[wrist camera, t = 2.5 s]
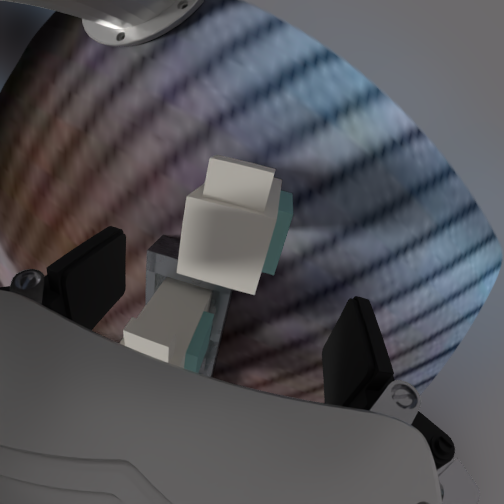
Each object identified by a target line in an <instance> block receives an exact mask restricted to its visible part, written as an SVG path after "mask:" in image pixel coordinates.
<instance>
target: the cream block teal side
mask: <svg viewBox="0 0 504 504" xmlns="http://www.w3.org/2000/svg"><path fill="white" fill-rule="evenodd" d="M212 291H213V290H210V289H207V288H203V287H200V286H197V285H193V284H190V283H187V282H183V281H180V280H177V279H173V278H170V277H166V278H165V280H164V281H163V282H162V284H161V285H160V286H159V288H158V289H157V291H156V292H155V293H154V295H153V296H152V297H151V299H150V300H149V302H148V303H147V304H146V306H145V307H144V309H143V310H142V311H141V313H140V314H139V316H138V317H137V319H136V318H133V317H132V318H131V320H130V321H129V323H128V324H127V325H126V327H125V328H124V330H123V333H124V337H123V339H122V340H121V342H120V344H122V345H124V346H127V347H129V348H131V349H134V350H136V351H139V352H141V353H144V354H146V355H149V356H151V357H154V358H157V359H159V360H162V361H165V362H167V363H170V364H173V365H176V366H179V367H181V368H184V369H187V370H190V371H193V372H196V373H198V372H199V370H200V367H201V364H202V361H203V358H204V356H205V353H206V350H207V347H208V343H209V338H210V333H211V328H212V323H213V318H214V314H212V313H209V307H210V302H211V297H212Z"/></svg>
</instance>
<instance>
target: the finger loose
mask: <svg viewBox="0 0 504 504" xmlns="http://www.w3.org/2000/svg"><path fill="white" fill-rule="evenodd" d="M275 170H276V169H273V168H269V167H266V166H262V165H258V164H254V163H250V162H246V161H242V160H237V159H233V158H229V157H224V156H220V155H215V156H213V157H211V158H210V160H209V165H208V170H207V175H206V180H205V183H204V184H203V185H202V186H200V187H199V188H197V189H196V190H195V191H193V192H192V193H191V194H189V195H188V196H187V198H186V205H185V211H184V218H183V225H182V232H181V240H180V248H179V256H178V265H177V273H178V274H182V275H185V276H188V277H192V278H195V279H199V280H202V281H205V282H209V283H212V284H216V285H219V286H223V287H226V288H230V289H234V290H237V291H241V292H245V293H248V294H252V295H255V292H256V289H257V285H258V282H259V279H260V275H261V272H264V273H267V274H271V275H274V274H275V271H276V267H277V264H278V261H279V258H280V255H281V252H282V249H283V246H284V242H285V239H286V236H287V233H288V230H289V227H290V223H291V220H292V217H293V197H292V193H289V192H285V191H282V190H281V184H282V180H281V179H278V178H274V174H275Z"/></svg>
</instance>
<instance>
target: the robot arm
mask: <svg viewBox="0 0 504 504" xmlns="http://www.w3.org/2000/svg"><path fill="white" fill-rule="evenodd" d="M2 1H10V2H17V3H23V4H28V5H33V6H38V7H43V8H47V9H51V10H55V11H59V12H63V13H66V14H70V15H73V16H76V17H80V18H82V22H83V26H84V29H85V31H86V32H87V34H88V35H89V36H90V37H91V38H92V39H93V40H95V41H96V42H99V43H102V44H105V45H108V46H113V47H128V46H133V45H139V44H142V43H144V42H147V41H150V40H153V39H155V38H157V37H159V36H161V35H163V34H165V33H167V32H168V31H170V30H171V29H173V28H175V27H176V26H178V25H179V24H181V23H182V22H183V21H184V20H185V19H187V18H188V17H189V16H191V15H192V14H193V13H194V11H195V10H196V9H197V8H198V7H199V6H200V5H201V4H202V3H203V2H204V0H2ZM185 7H186V8H185ZM125 256H126V235H125V234H123V230H122V229H118V228H115V227H112V226H109V227H107V228H106V229H104V230H102V231H101V232H99V233H98V234H96V235H94V236H93V237H91V238H90V239H88V240H87V241H85V242H84V243H82V244H81V245H79V246H77V247H76V248H74V249H73V250H71V251H70V252H69V253H67V254H66V255H64V256H63V257H61V258H60V259H58V260H57V261H56V262H54V263H53V264H51V265H50V266H48V267H47V275H46V276H45V277H44V275H43V273H42V272H41V271H39V270H35V269H28V270H24V271H21V272H19V273H18V274H16V275H15V276H14V277H13V279H12V281H11V285H10V286H8V287H0V504H477V503H478V502H479V498H480V492H479V488H478V486H477V485H476V483H475V482H474V480H473V479H472V478H471V476H470V475H469V473H468V472H467V470H466V469H465V467H464V466H463V465H462V463H461V462H460V461H459V459H458V458H457V459H455V460H454V459H453V457H454V453H455V448H454V444H453V442H452V440H451V438H450V437H449V436H448V435H447V434H446V433H444V432H443V431H442V430H441V429H439V428H438V427H437V426H436V425H434V423H432V422H431V421H430V420H429V419H428V418H426V417H425V416H424V415H423V414H421V413H420V412H419V411H418V410H419V408H420V405H421V398H420V395H419V393H418V392H417V390H416V389H415V388H414V387H413V386H412V385H411V384H409V383H407V382H404V381H401V380H396V381H394V377H393V374H394V372H393V369H392V365H391V362H390V359H389V356H388V353H387V349H386V346H385V343H384V340H383V337H382V334H381V331H380V329H379V326H378V323H377V320H376V317H375V314H374V312H373V309H372V306H371V304H370V301H369V300H368V299H365V298H361V297H357V296H355V297H354V298H353V299H351V298H350V299H349V300H348V302H347V304H346V306H345V308H344V310H343V312H342V314H341V316H340V318H339V319H338V321H337V323H336V325H335V327H334V329H333V331H332V333H331V335H330V336H329V338H328V340H327V342H326V344H325V345H324V348H323V351H322V361H323V377H324V397H325V403H319V402H313V401H308V400H303V399H297V398H292V397H287V396H282V395H278V394H273V393H269V392H264V391H260V390H256V389H252V388H248V387H244V386H240V385H237V384H233V383H230V382H226V381H223V380H219V379H216V378H212V377H209V376H206V375H203V374H199V373H196V372H193V371H190V370H187V369H184V368H181V367H179V366H176V365H173V364H170V363H167V362H165V361H162V360H159V359H157V358H154V357H151V356H149V355H146V354H144V353H141V352H139V351H136V350H134V349H131V348H129V347H127V346H124V345H122V344H120V343H117V342H115V341H113V340H111V339H108V338H106V337H104V336H102V335H100V334H98V333H96V332H94V331H91V330H92V329H93V328H94V327H95V326H96V324H97V323H98V322H99V321H100V320H101V319H102V318H103V317H104V315H105V314H106V313H107V312H108V311H109V310H110V309H111V308H112V306H113V305H114V304H115V303H116V302H117V301H118V300H119V299H120V298H121V297H122V296H123V294H124V292H125V287H126V285H125Z"/></svg>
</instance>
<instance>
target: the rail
mask: <svg viewBox="0 0 504 504" xmlns="http://www.w3.org/2000/svg"><path fill="white" fill-rule="evenodd" d="M179 248H180V240H177V239H174V238H170V237H167V236H163V235H162V236H161V237H160V238H159V239H158V240H157V241H156V242H155V243H154V244H153V245H152V246H151V247H150V248H149V249H148V250H147V264H146V304H147V303H148V302H149V300H150V299H151V297H152V296H153V295H154V293H155V292H156V291H157V289H158V288H159V286H160V285H161V284H162V282H163V281H164V280H165V278H166V277H170V278H173V279H177V280H180V281H183V282H187V283H190V284H193V285H197V286H200V287H203V288H207V289H210V290H213V291H212V297H211V302H210V307H209V313H212V314H214V318H213V323H212V328H211V333H210V338H209V343H208V347H207V350H206V353H205V356H204V358H203V361H202V364H201V367H200V370H199V372H198V373H199V374H203V375H206V376H209V377H212V376H213V372H214V367H215V363H216V359H217V355H218V351H219V346H220V342H221V338H222V334H223V330H224V326H225V321H226V317H227V313H228V309H229V305H230V301H231V297H232V293H233V289H230V288H226V287H223V286H219V285H216V284H212V283H209V282H205V281H202V280H199V279H195V278H192V277H188V276H185V275H182V274H178V273H177V265H178V256H179Z"/></svg>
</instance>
